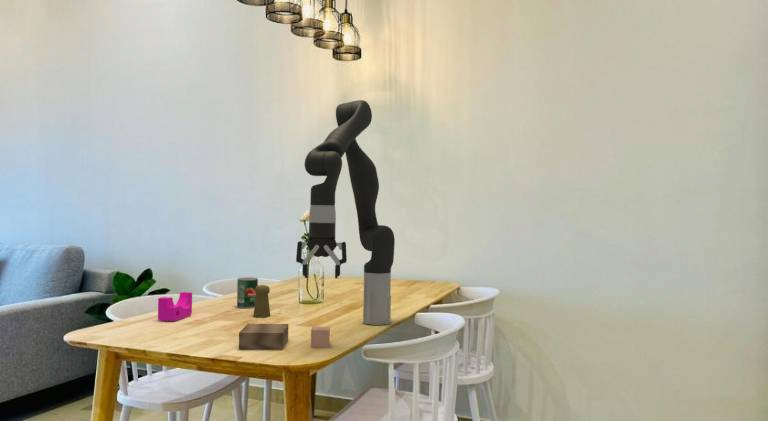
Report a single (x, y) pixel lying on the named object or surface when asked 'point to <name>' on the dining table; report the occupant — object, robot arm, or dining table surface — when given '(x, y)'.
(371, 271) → the robot arm
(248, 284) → the canned tomato
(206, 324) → the dining table surface
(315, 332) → the terracotta cube
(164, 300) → the toy block
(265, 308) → the cork
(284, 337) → the walnut base block
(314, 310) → the dining table surface
